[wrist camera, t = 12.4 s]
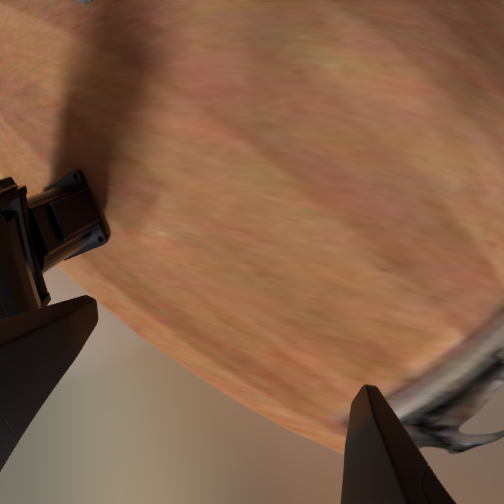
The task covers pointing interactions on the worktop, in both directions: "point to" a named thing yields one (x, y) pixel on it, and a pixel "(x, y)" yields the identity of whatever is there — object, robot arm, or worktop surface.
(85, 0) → the tray
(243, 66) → the worktop surface
